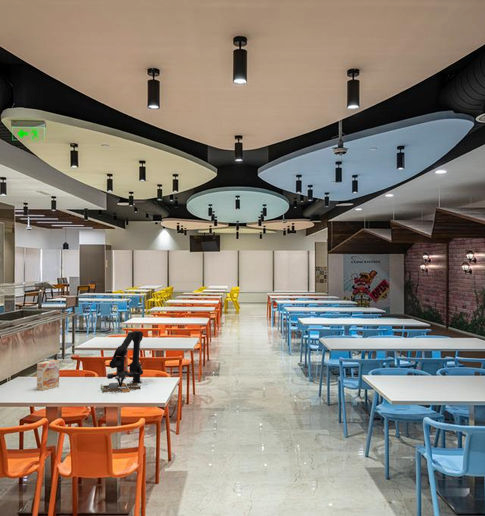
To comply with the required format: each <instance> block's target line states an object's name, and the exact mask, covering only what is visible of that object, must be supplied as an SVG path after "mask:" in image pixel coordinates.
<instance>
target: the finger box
mask: <svg viewBox="0 0 485 516" xmlns="http://www.w3.org/2000/svg"><path fill="white" fill-rule="evenodd" d="M126 387H127V388H129V389H130V391H134V390H141V385H139V383H126ZM100 391H101V392H102V394H103V393H110V392H111V393H112V392H122V387H119V384H118V388H111V389H109V384H108V385H107V384H104V385H103V384H100Z"/></svg>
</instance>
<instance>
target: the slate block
mask: <svg viewBox="0 0 485 516" xmlns="http://www.w3.org/2000/svg"><path fill="white" fill-rule="evenodd" d="M108 385H109V388H108V389H111V388H119V387H118V382H109V384H108Z"/></svg>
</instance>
